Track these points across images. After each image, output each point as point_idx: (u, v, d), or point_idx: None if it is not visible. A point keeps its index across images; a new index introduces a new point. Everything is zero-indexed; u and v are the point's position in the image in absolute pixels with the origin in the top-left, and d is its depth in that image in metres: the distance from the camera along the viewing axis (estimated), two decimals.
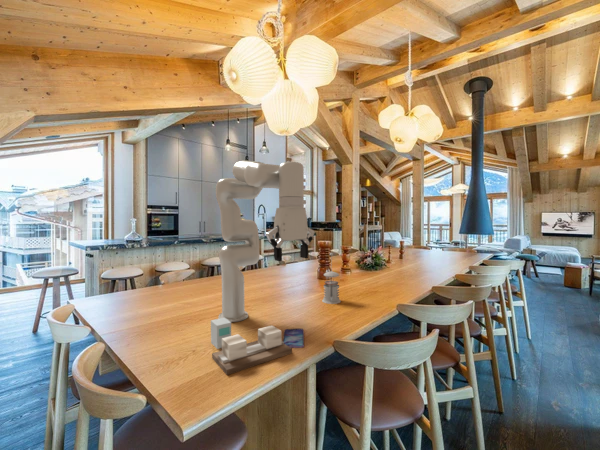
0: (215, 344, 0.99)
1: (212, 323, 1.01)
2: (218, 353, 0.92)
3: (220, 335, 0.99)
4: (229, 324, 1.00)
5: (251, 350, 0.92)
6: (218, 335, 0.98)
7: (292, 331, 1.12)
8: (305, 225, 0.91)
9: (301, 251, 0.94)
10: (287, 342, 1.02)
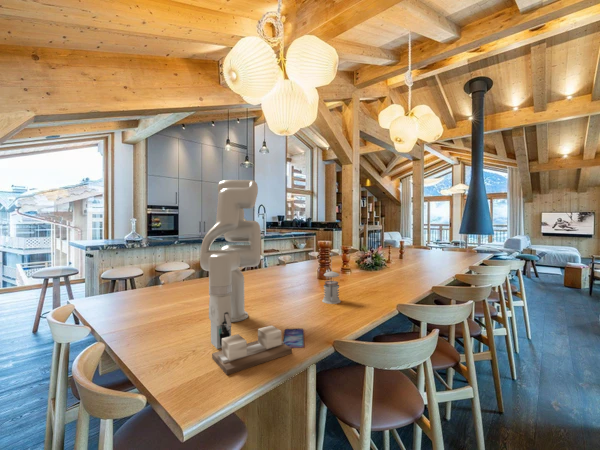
0: (215, 344, 1.00)
1: (212, 323, 1.01)
2: (218, 353, 0.92)
3: None
4: None
5: (251, 350, 0.92)
6: (218, 335, 0.98)
7: (292, 331, 1.12)
8: None
9: None
10: (287, 342, 1.02)
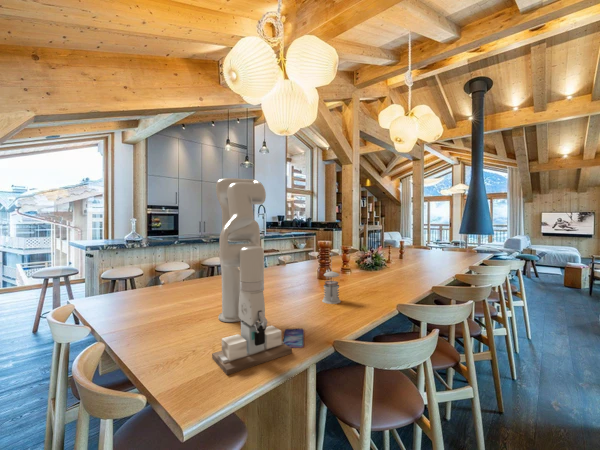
0: (247, 348, 0.91)
1: (243, 325, 0.93)
2: (218, 353, 0.92)
3: (253, 339, 0.90)
4: None
5: None
6: (250, 339, 0.90)
7: (292, 331, 1.12)
8: None
9: None
10: (287, 342, 1.02)
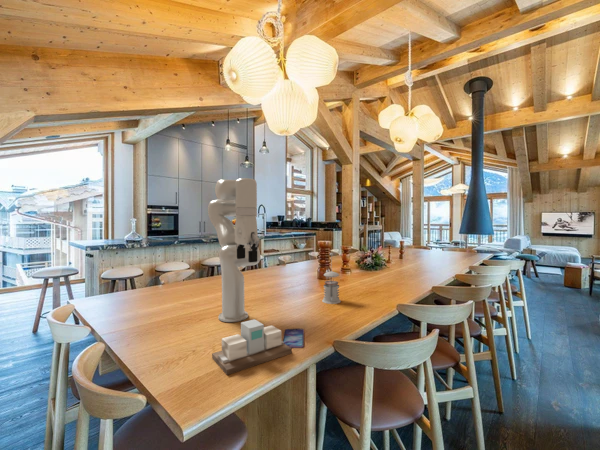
0: (247, 348, 0.91)
1: (243, 325, 0.93)
2: (218, 353, 0.92)
3: (253, 339, 0.90)
4: (262, 327, 0.92)
5: None
6: (250, 339, 0.90)
7: (292, 331, 1.12)
8: None
9: (239, 253, 1.10)
10: (287, 342, 1.02)
